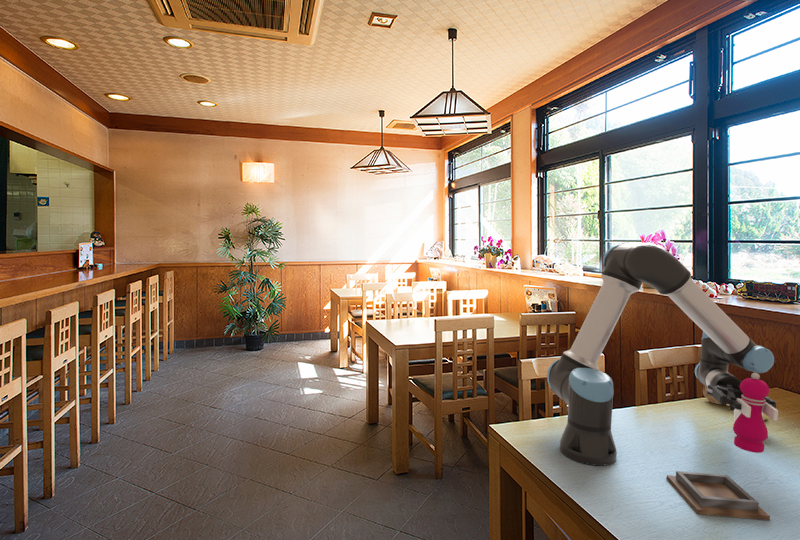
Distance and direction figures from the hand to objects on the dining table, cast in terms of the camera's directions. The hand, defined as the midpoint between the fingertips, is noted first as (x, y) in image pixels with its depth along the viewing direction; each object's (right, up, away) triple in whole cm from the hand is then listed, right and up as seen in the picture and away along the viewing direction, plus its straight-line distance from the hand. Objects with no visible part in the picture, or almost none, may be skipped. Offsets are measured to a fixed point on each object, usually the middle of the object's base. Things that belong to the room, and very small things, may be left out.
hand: (762, 413), depth 112 cm
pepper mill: (+1, -11, +6) cm, 12 cm away
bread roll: (+35, -17, +48) cm, 61 cm away
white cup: (+25, -17, +37) cm, 47 cm away
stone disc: (+31, -16, +60) cm, 69 cm away
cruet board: (-15, -19, -4) cm, 24 cm away
